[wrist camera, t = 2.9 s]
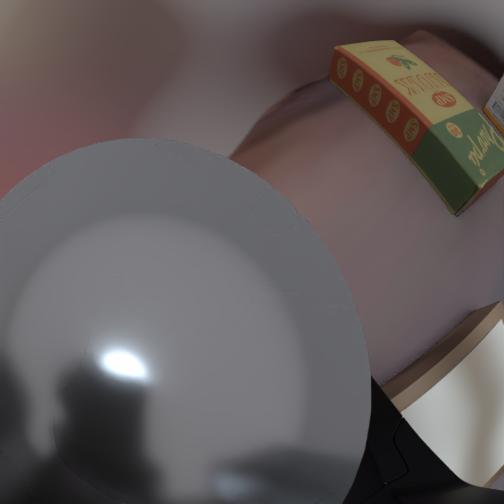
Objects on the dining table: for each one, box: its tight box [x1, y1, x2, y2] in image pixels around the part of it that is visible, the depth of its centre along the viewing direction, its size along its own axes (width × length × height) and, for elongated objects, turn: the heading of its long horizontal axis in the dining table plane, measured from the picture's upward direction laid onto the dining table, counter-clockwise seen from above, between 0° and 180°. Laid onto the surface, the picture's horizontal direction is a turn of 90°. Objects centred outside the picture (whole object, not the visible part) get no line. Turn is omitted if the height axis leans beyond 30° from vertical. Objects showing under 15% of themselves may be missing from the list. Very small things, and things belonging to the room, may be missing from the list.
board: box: [381, 300, 504, 488], centre depth 11 cm, size 10×10×3 cm
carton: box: [329, 41, 504, 217], centre depth 19 cm, size 8×16×4 cm, turn 29°
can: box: [0, 138, 371, 504], centre depth 8 cm, size 6×6×13 cm
